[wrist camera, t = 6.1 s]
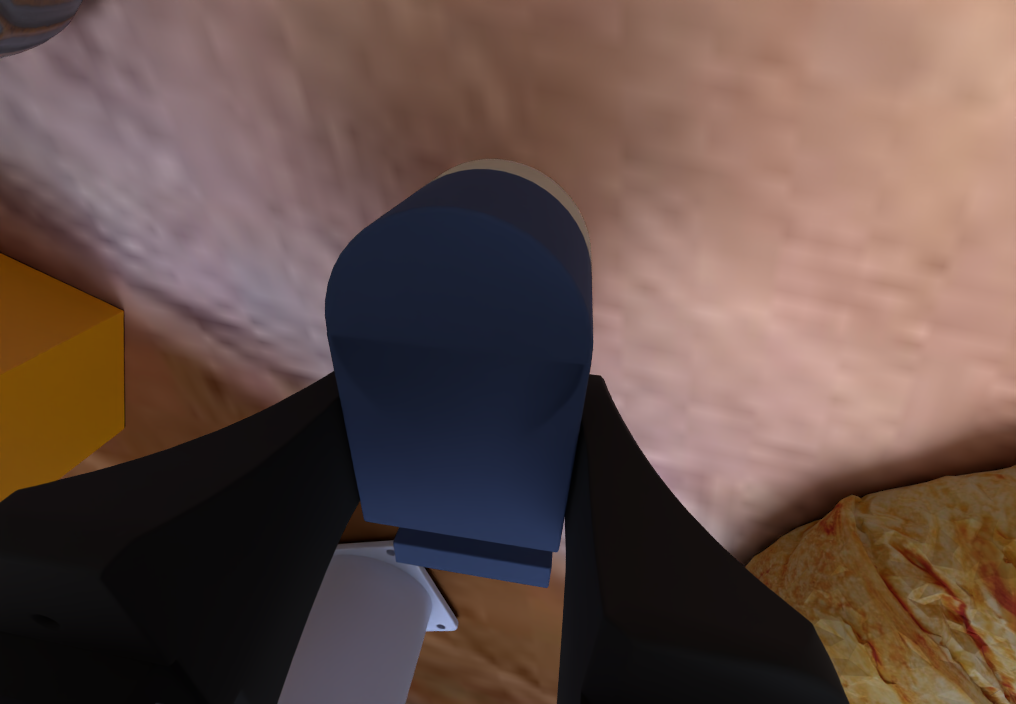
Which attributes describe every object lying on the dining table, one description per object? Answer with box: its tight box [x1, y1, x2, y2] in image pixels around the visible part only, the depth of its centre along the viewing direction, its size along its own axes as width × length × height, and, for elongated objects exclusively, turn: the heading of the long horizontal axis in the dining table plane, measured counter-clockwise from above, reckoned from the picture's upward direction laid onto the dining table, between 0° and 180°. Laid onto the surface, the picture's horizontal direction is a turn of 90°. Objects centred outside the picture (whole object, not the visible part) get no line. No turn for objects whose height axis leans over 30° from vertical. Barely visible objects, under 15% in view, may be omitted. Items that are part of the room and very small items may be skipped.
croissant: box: [745, 465, 1016, 704], centre depth 17 cm, size 21×10×8 cm
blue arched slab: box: [325, 159, 593, 588], centre depth 11 cm, size 11×5×4 cm, turn 178°
